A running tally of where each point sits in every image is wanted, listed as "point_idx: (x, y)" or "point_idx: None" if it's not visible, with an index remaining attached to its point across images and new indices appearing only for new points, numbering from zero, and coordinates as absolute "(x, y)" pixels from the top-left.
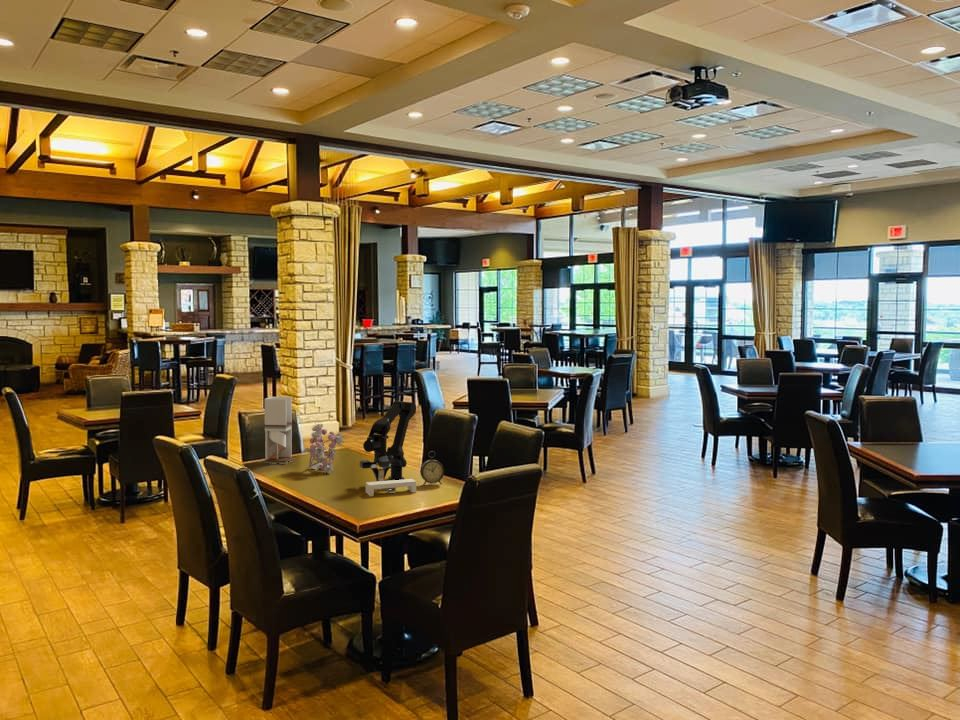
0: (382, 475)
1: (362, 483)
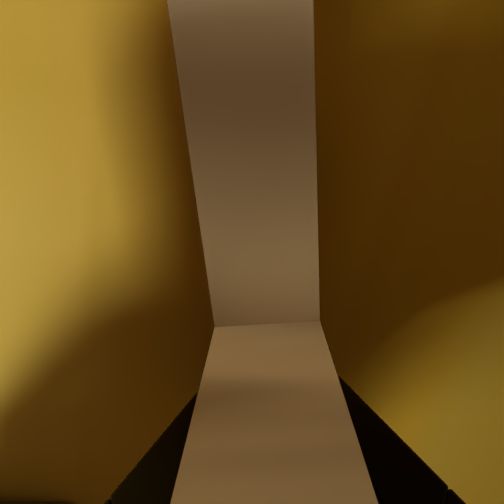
0: (230, 444)
1: (496, 457)
